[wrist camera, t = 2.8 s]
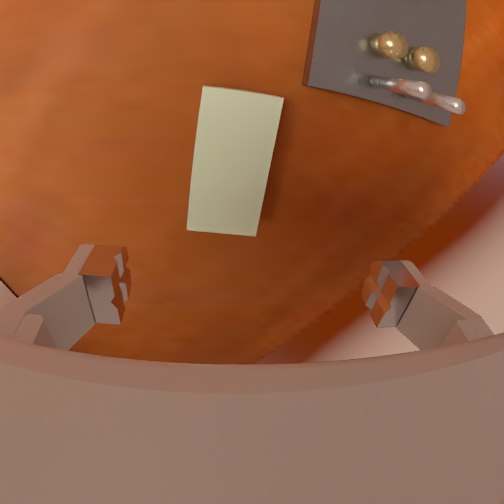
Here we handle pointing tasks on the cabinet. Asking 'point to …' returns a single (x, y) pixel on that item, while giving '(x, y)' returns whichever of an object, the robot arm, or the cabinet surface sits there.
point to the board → (232, 159)
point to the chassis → (390, 53)
